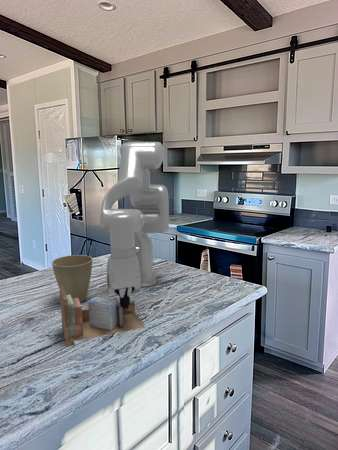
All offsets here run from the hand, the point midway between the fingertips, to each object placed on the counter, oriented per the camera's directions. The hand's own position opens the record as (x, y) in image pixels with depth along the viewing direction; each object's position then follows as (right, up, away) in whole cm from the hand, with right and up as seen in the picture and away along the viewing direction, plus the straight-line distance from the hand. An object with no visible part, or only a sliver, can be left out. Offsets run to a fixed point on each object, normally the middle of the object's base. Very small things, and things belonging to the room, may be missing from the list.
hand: (125, 307), depth 114 cm
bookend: (-2, -5, 0) cm, 5 cm away
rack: (-7, -7, -2) cm, 10 cm away
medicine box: (-7, -6, -2) cm, 9 cm away
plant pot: (-22, -3, +22) cm, 31 cm away
